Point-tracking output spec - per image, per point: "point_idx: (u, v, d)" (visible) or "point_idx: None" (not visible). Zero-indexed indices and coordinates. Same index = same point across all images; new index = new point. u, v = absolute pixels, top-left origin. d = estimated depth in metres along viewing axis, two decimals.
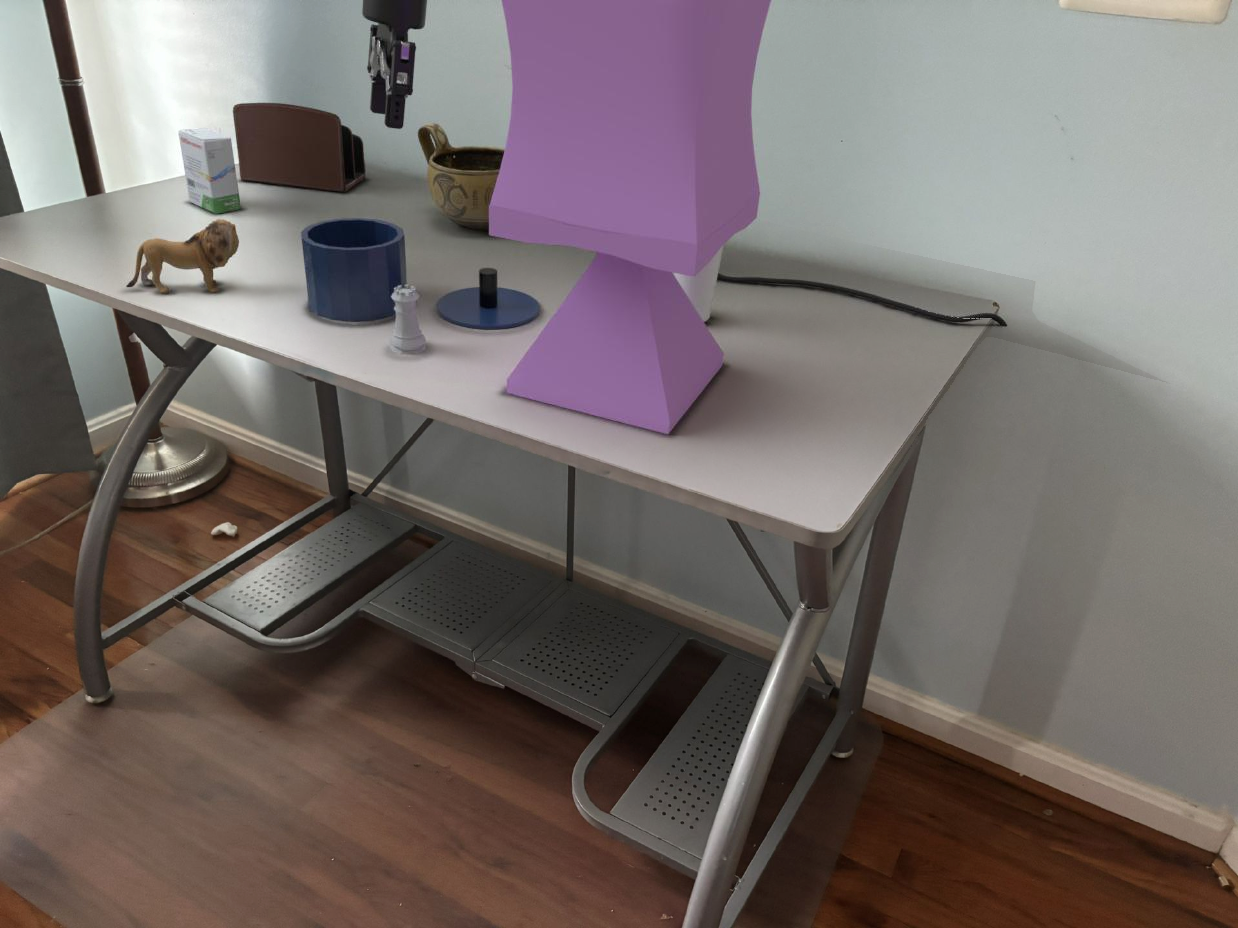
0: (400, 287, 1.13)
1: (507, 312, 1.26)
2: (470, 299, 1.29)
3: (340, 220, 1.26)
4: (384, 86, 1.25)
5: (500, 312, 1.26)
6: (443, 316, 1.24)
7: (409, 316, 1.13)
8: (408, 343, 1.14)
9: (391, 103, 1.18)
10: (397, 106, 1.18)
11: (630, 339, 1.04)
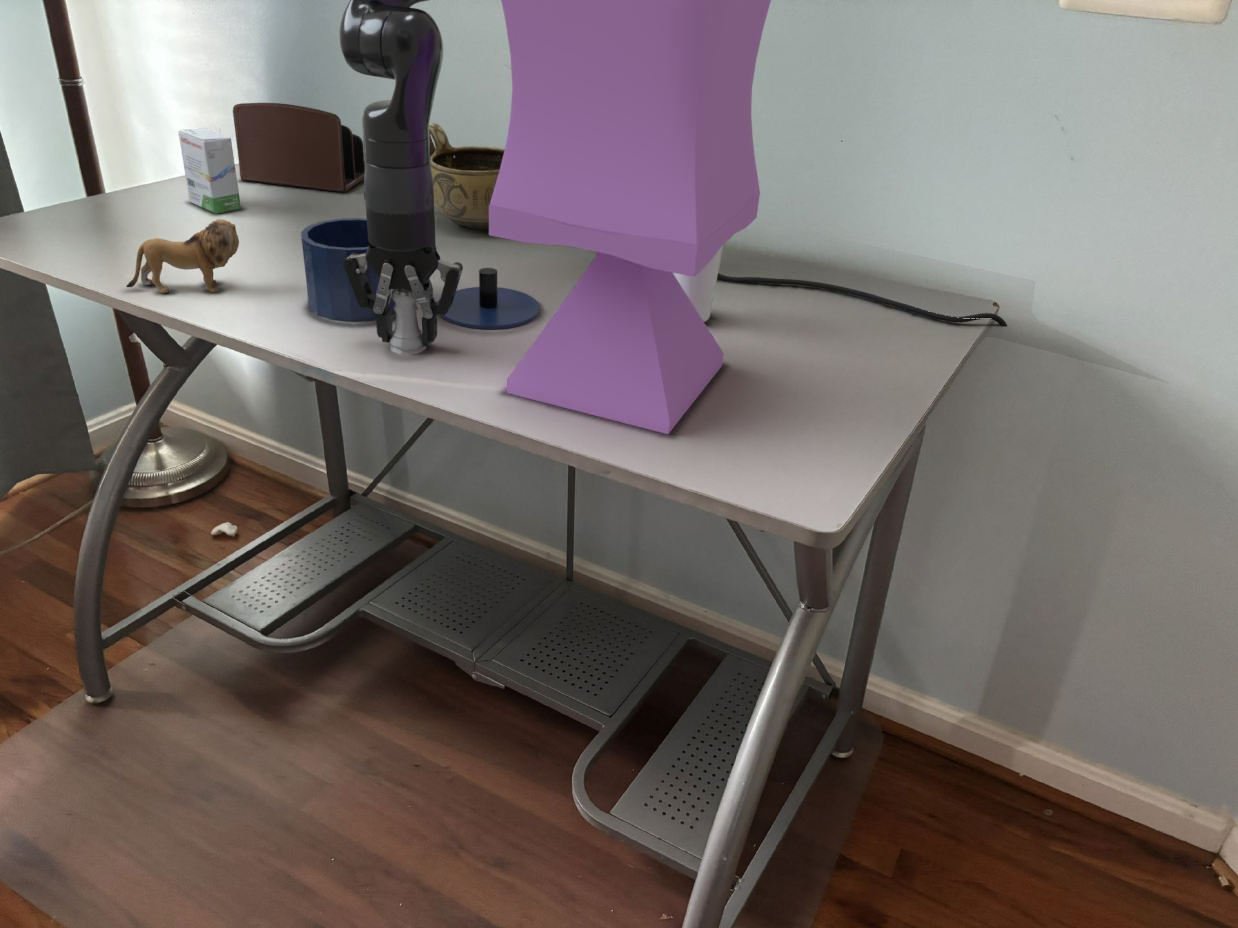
0: None
1: (507, 312, 1.26)
2: (470, 299, 1.29)
3: (340, 220, 1.26)
4: (389, 312, 1.15)
5: (500, 312, 1.26)
6: (443, 316, 1.24)
7: (409, 316, 1.13)
8: (408, 343, 1.14)
9: (430, 323, 1.14)
10: None
11: (630, 339, 1.04)
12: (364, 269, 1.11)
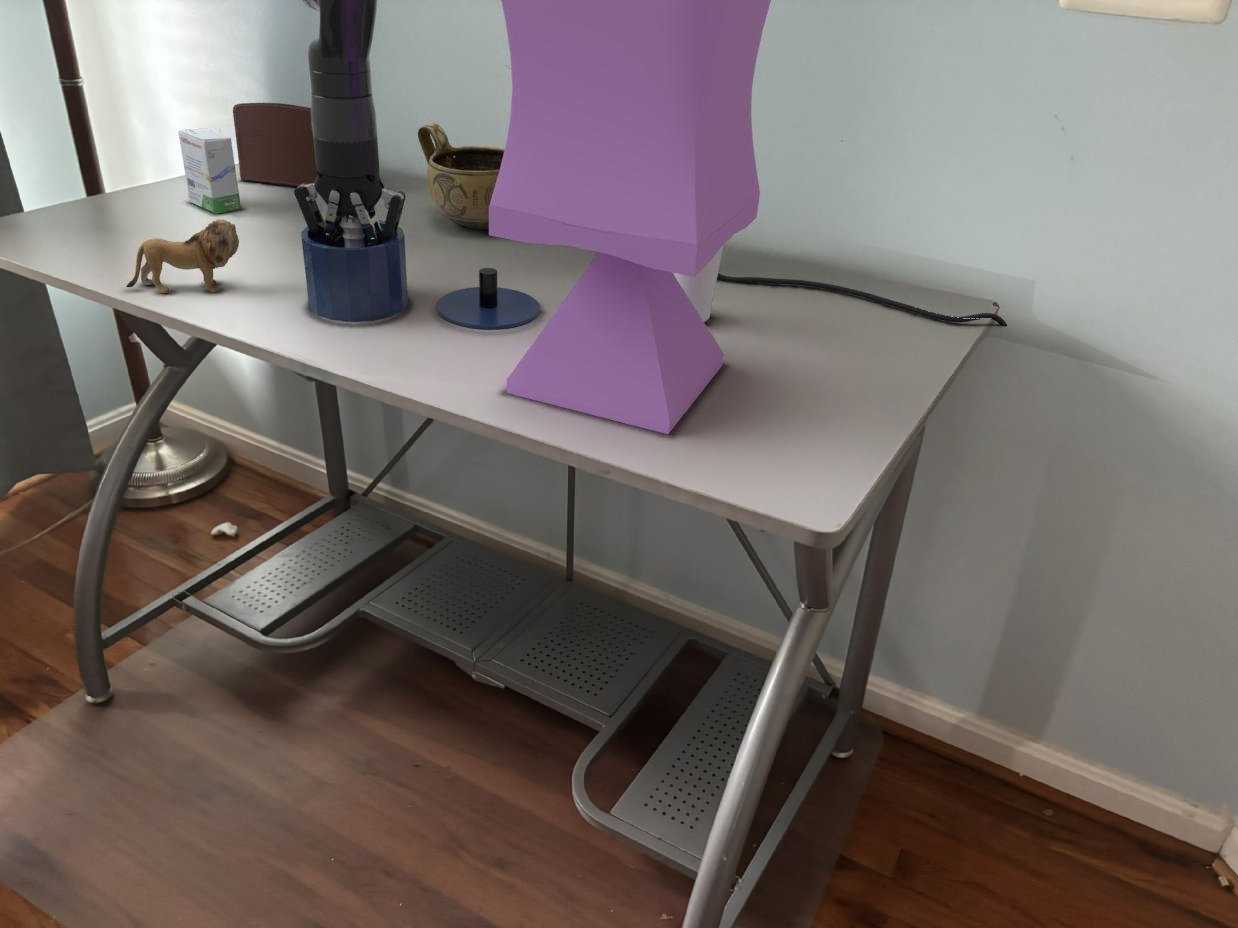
0: (348, 215, 1.22)
1: (507, 312, 1.26)
2: (470, 299, 1.29)
3: None
4: (339, 239, 1.23)
5: (500, 312, 1.26)
6: (443, 316, 1.24)
7: (356, 243, 1.22)
8: None
9: None
10: None
11: (630, 339, 1.04)
12: (314, 197, 1.20)
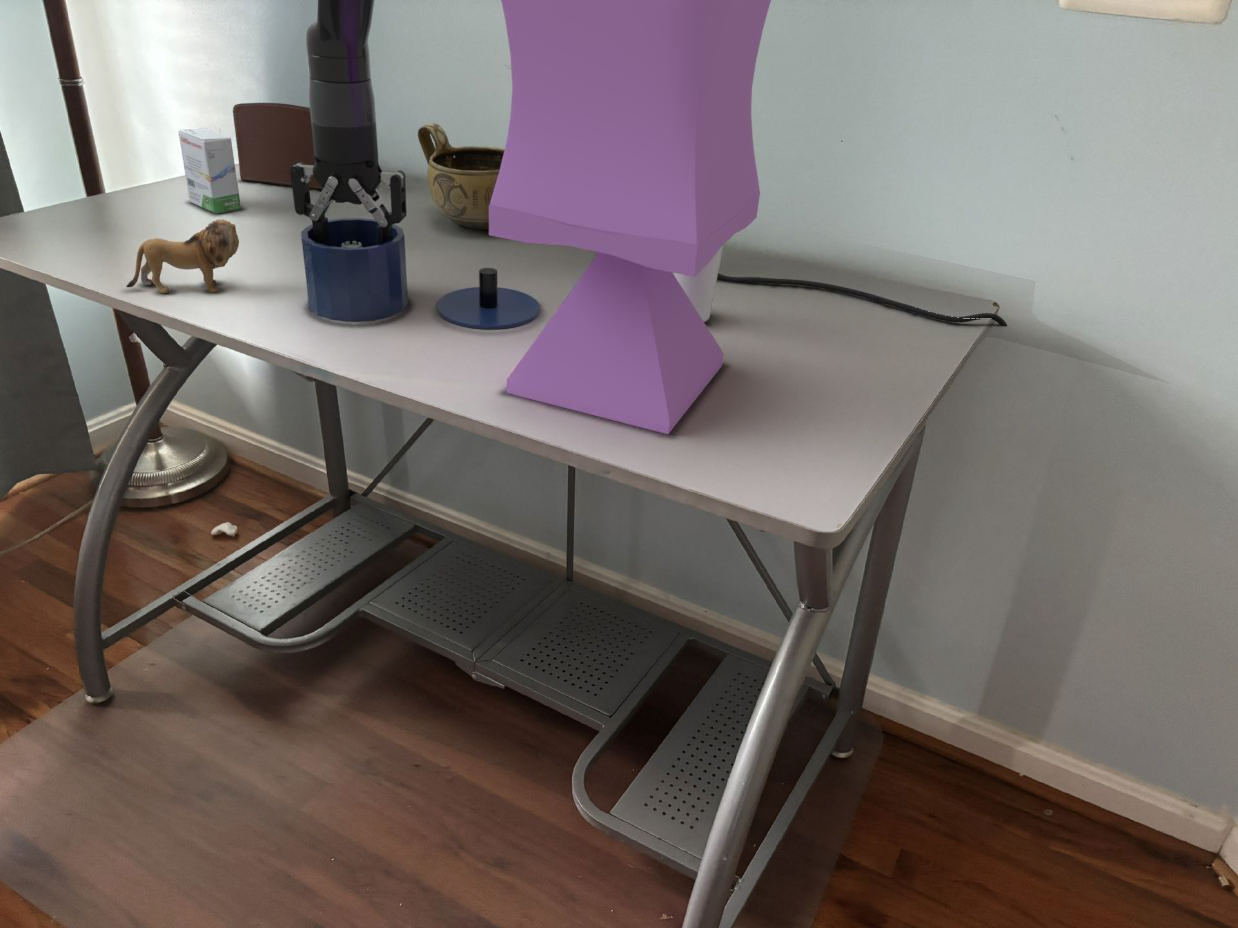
0: (348, 243, 1.24)
1: (507, 312, 1.26)
2: (470, 299, 1.29)
3: (340, 220, 1.26)
4: (325, 220, 1.22)
5: (500, 312, 1.26)
6: (443, 316, 1.24)
7: None
8: None
9: (385, 232, 1.21)
10: (389, 232, 1.22)
11: (630, 339, 1.04)
12: (308, 180, 1.19)
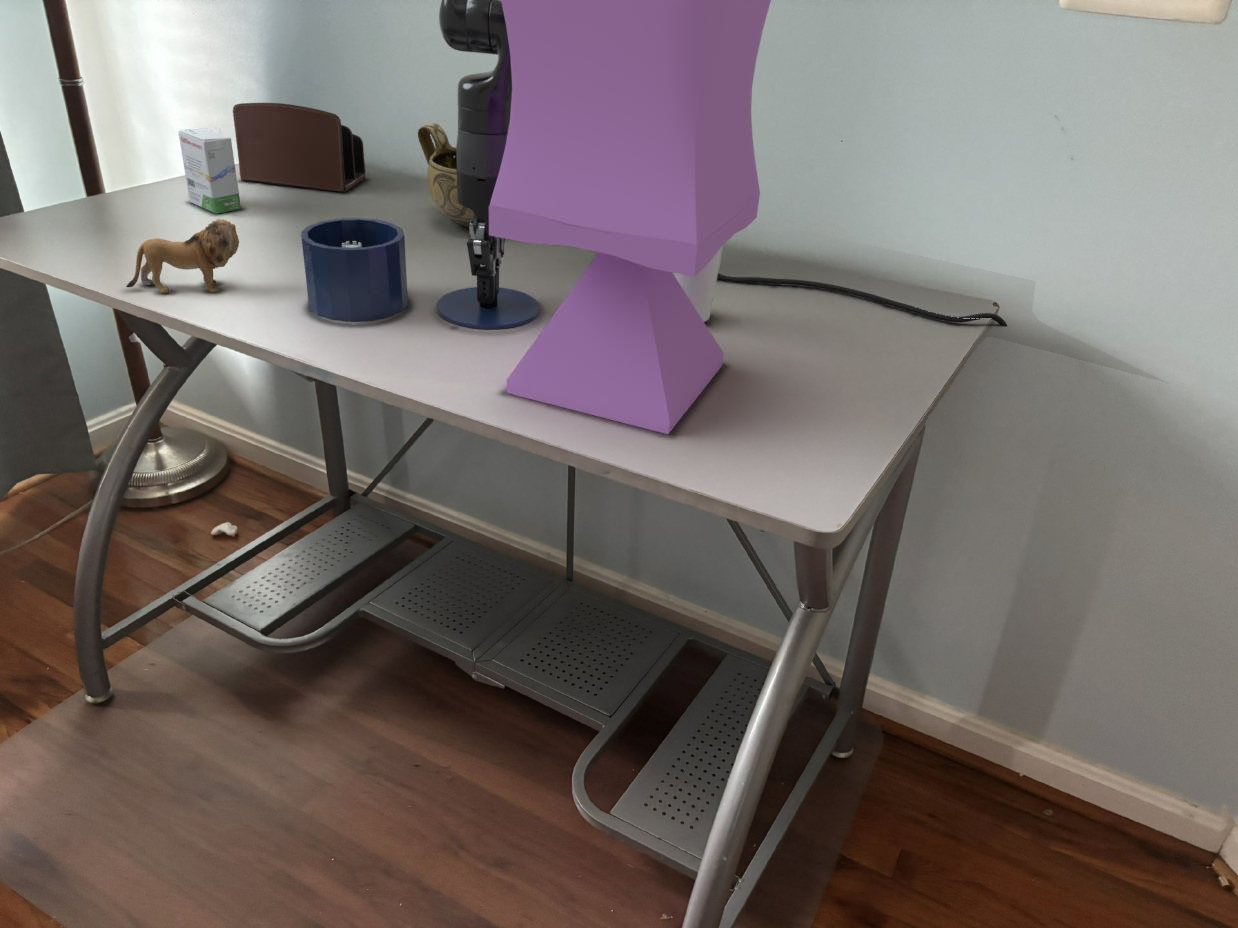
0: (348, 243, 1.24)
1: (507, 312, 1.26)
2: (470, 299, 1.29)
3: (340, 220, 1.26)
4: None
5: (500, 312, 1.26)
6: (443, 316, 1.24)
7: None
8: None
9: None
10: None
11: (630, 339, 1.04)
12: None
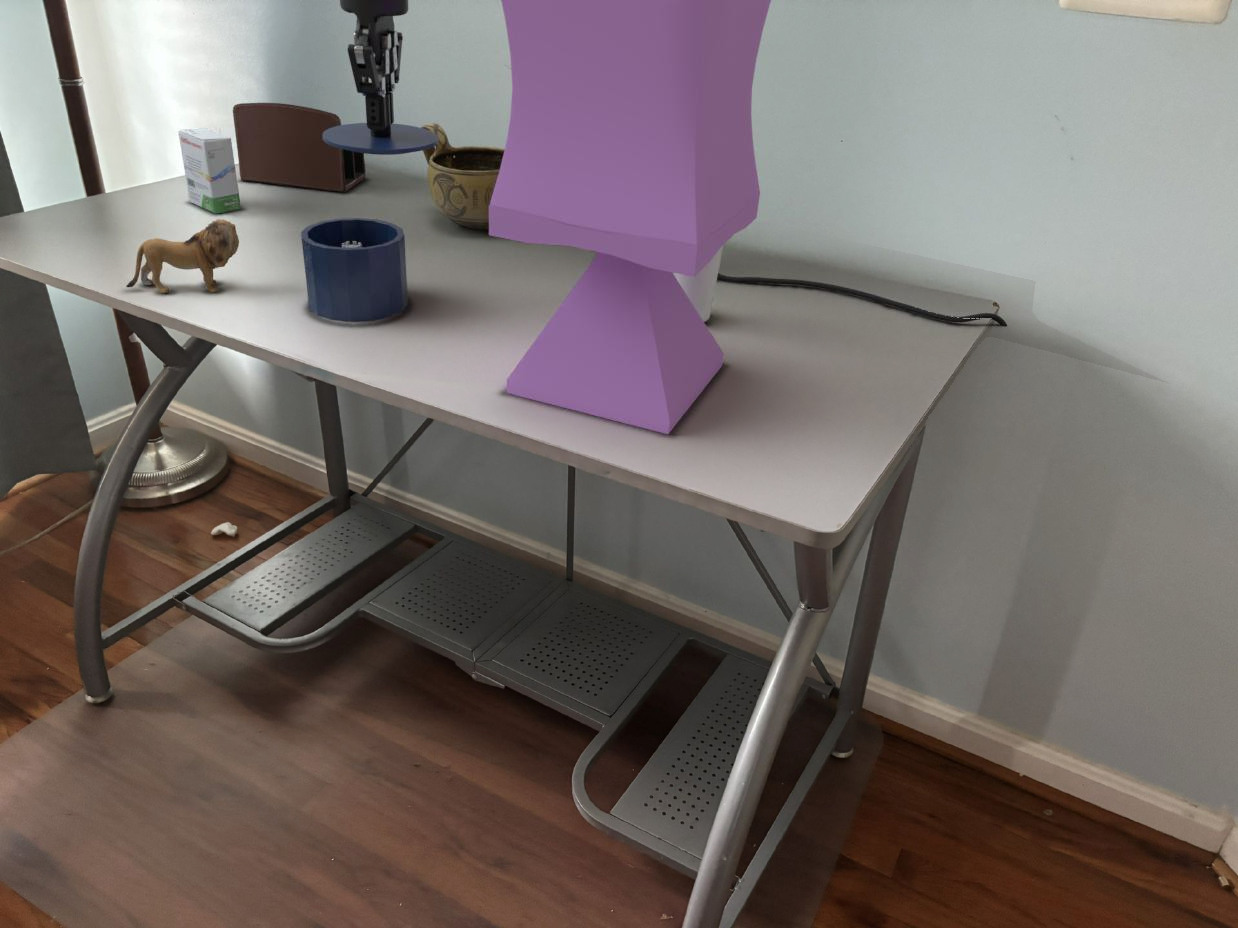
0: (348, 243, 1.24)
1: (400, 141, 1.14)
2: (362, 131, 1.17)
3: (340, 220, 1.26)
4: None
5: (392, 141, 1.14)
6: (327, 141, 1.12)
7: None
8: None
9: None
10: None
11: (630, 339, 1.04)
12: None
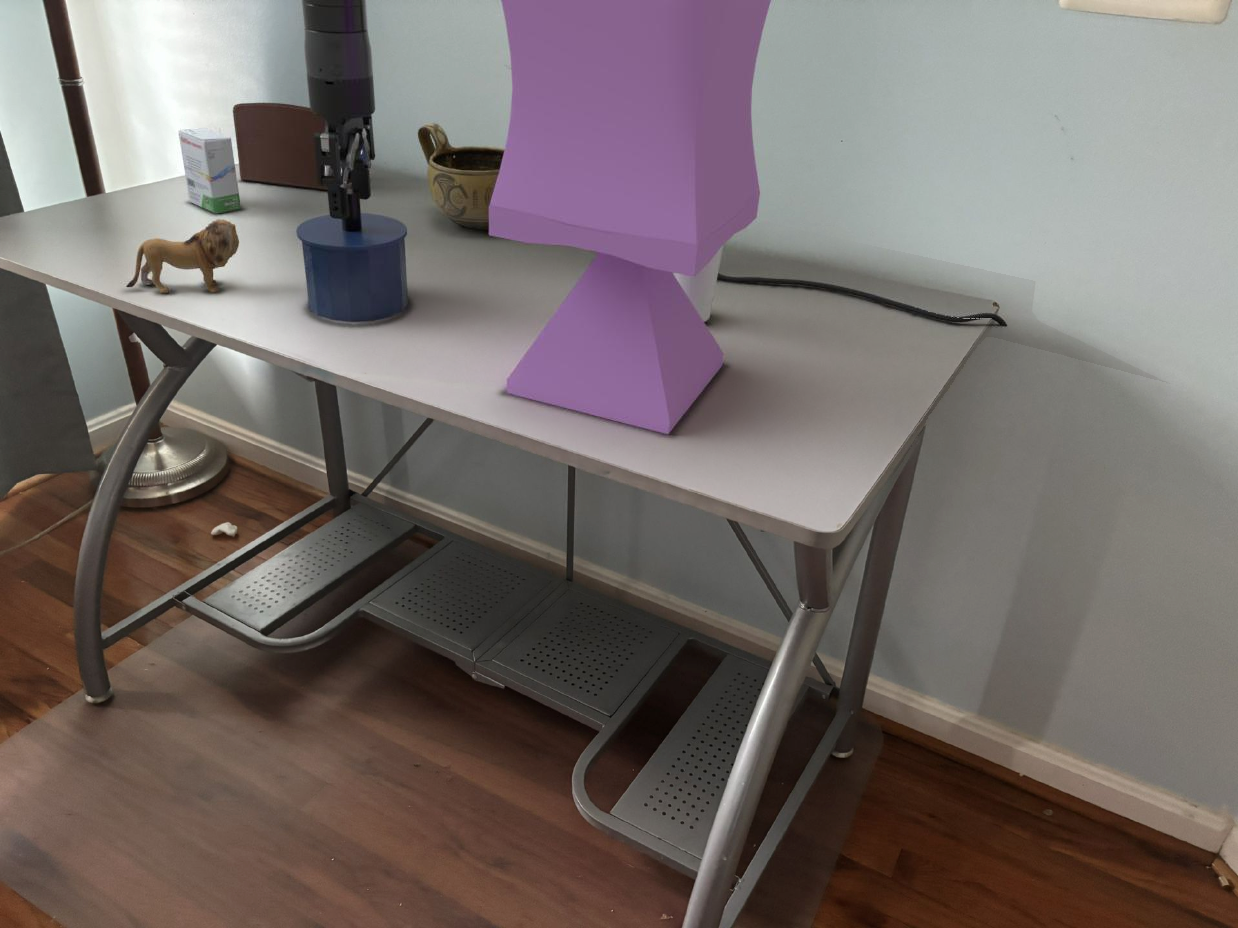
0: None
1: (370, 235, 1.20)
2: (335, 224, 1.23)
3: None
4: None
5: (362, 235, 1.20)
6: (300, 238, 1.18)
7: None
8: None
9: None
10: None
11: (630, 339, 1.04)
12: None
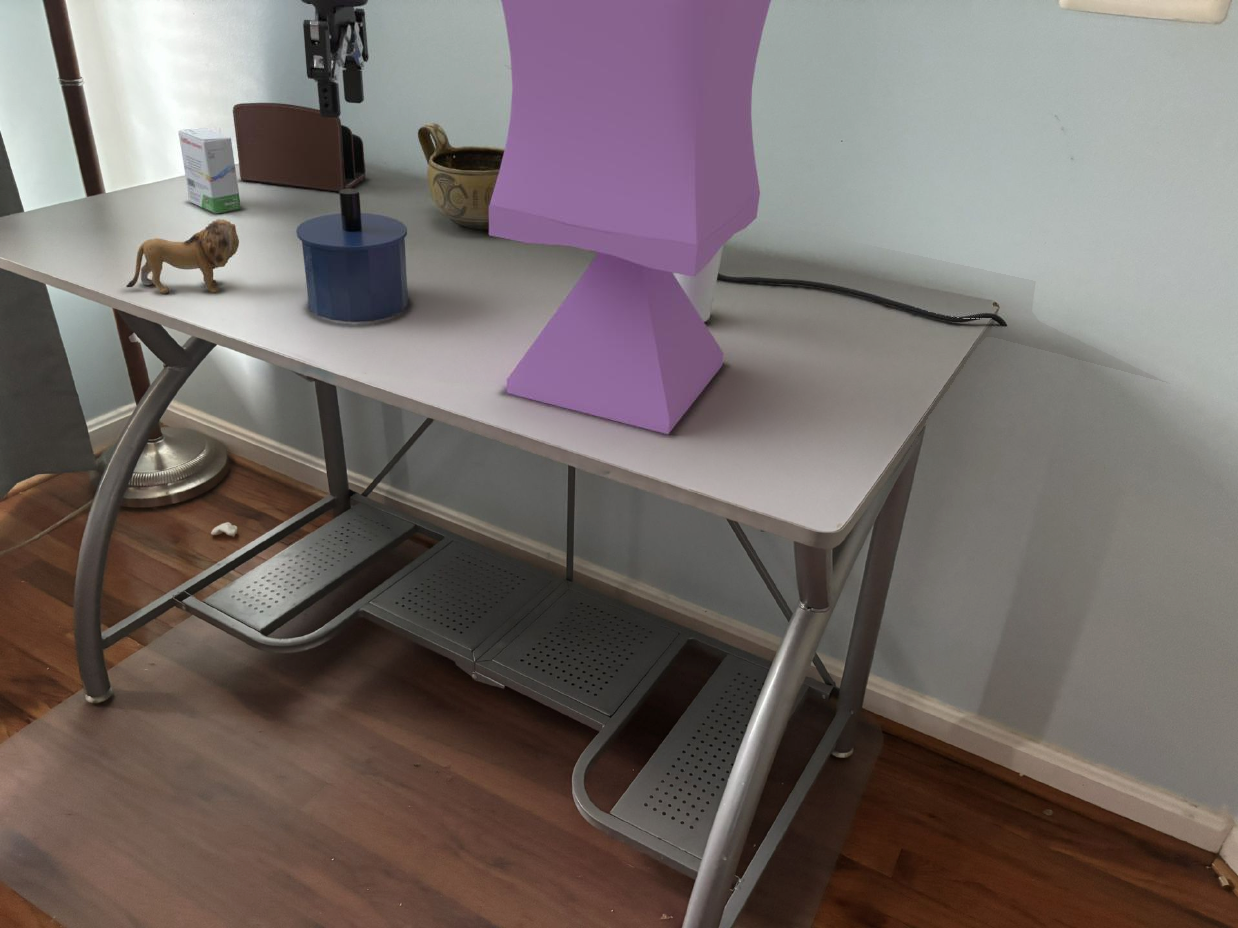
0: None
1: (370, 235, 1.20)
2: (335, 224, 1.23)
3: None
4: None
5: (362, 235, 1.20)
6: (300, 238, 1.18)
7: None
8: None
9: None
10: None
11: (630, 339, 1.04)
12: None
